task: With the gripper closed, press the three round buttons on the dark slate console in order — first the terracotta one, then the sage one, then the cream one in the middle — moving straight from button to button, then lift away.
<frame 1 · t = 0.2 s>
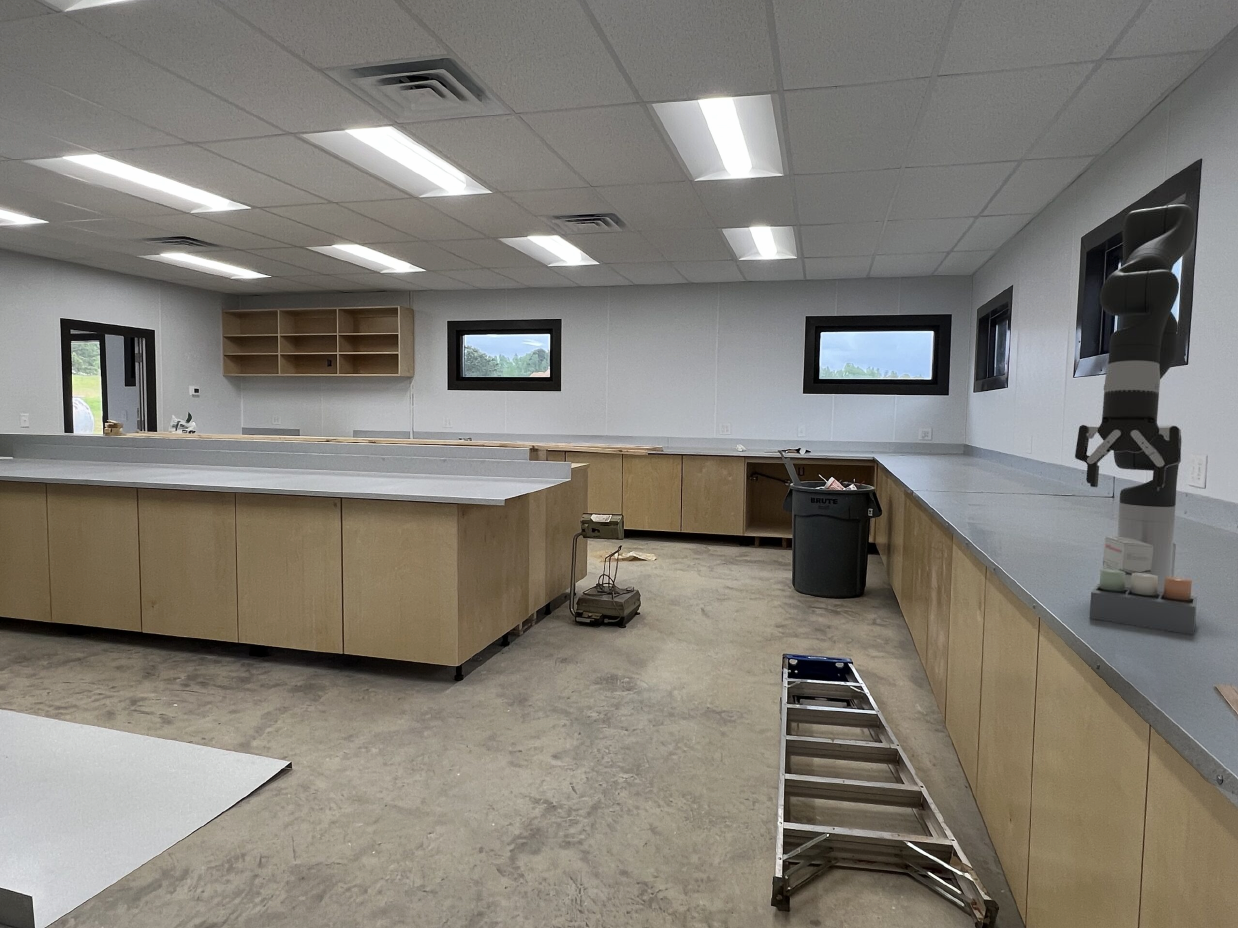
hand: (1123, 488, 121), 23 cm above the countertop, tool pointing down, fingers open, 8 cm apart
console: (1142, 620, 125), on the countertop
ink box: (1123, 603, 137), on the countertop
cream button: (1144, 583, 124), point 6 cm above the countertop, slide at 0.0 cm
sage button: (1112, 579, 127), point 6 cm above the countertop, slide at 0.0 cm
terracotta button: (1177, 588, 121), point 6 cm above the countertop, slide at 0.0 cm
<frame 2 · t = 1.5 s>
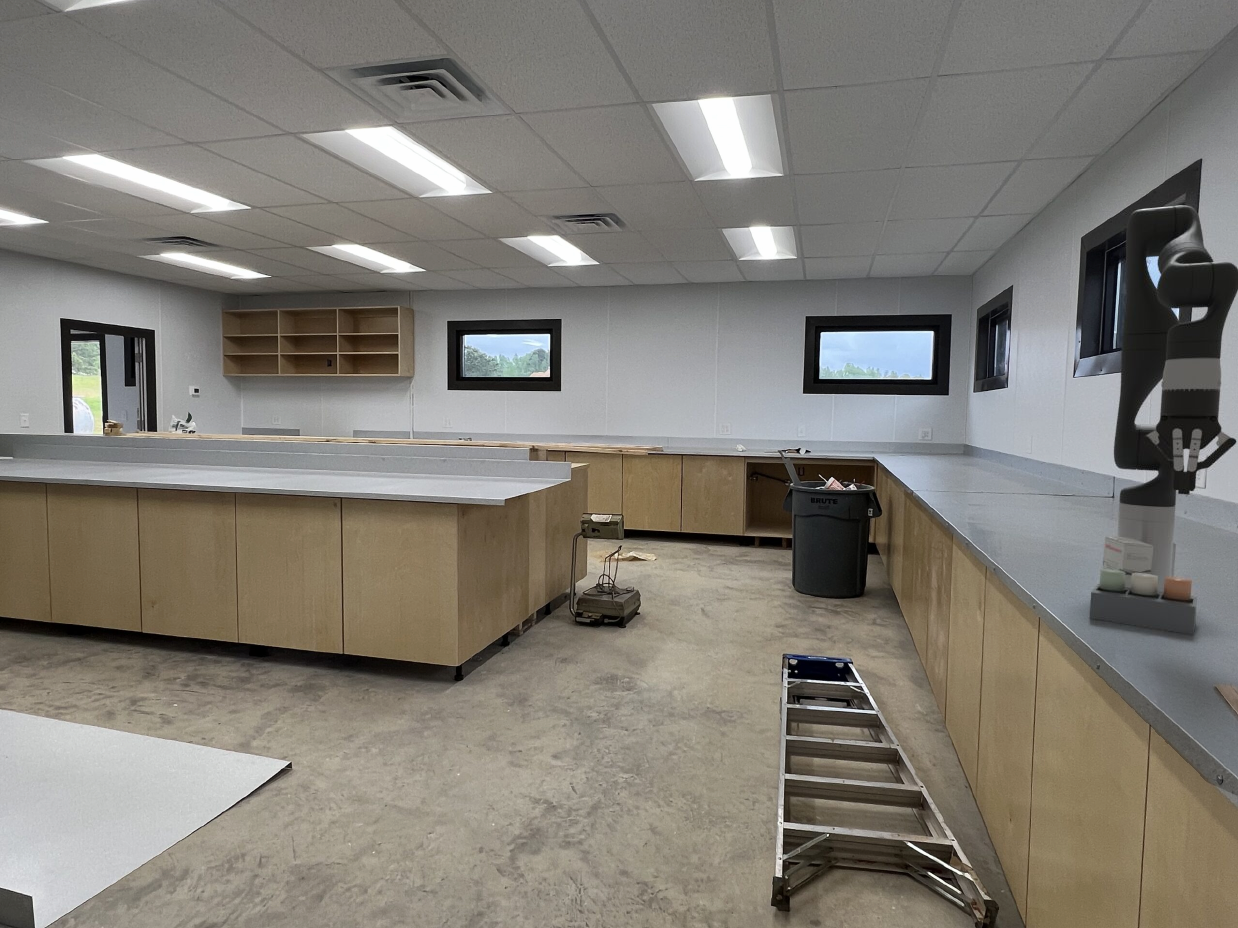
hand: (1183, 493, 120), 22 cm above the countertop, tool pointing down, fingers closed
nothing on the countertop moved.
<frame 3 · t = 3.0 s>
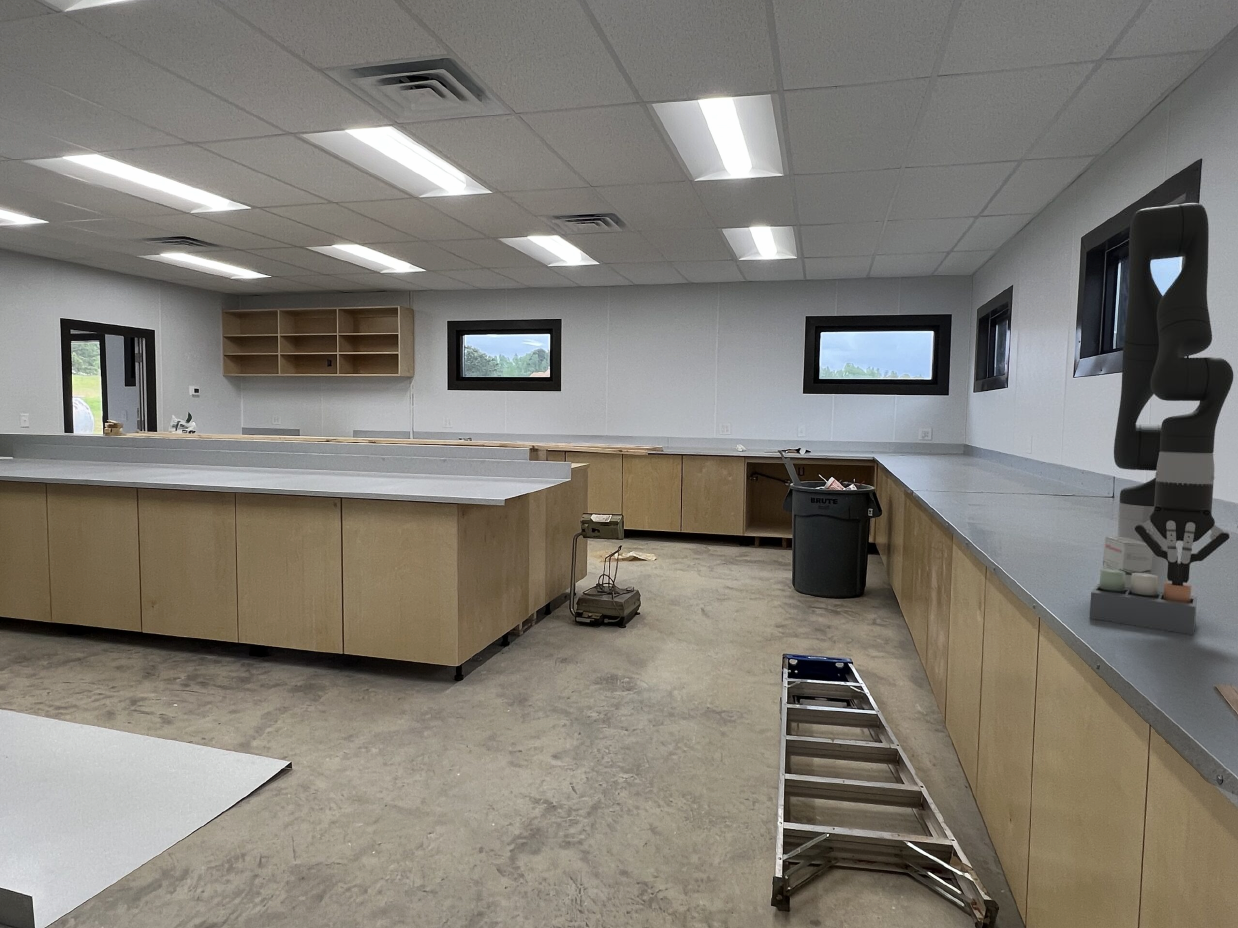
hand: (1177, 584, 121), 7 cm above the countertop, tool pointing down, fingers closed
terracotta button: (1177, 593, 121), point 5 cm above the countertop, slide at 0.9 cm, touching gripper
everything else where it was.
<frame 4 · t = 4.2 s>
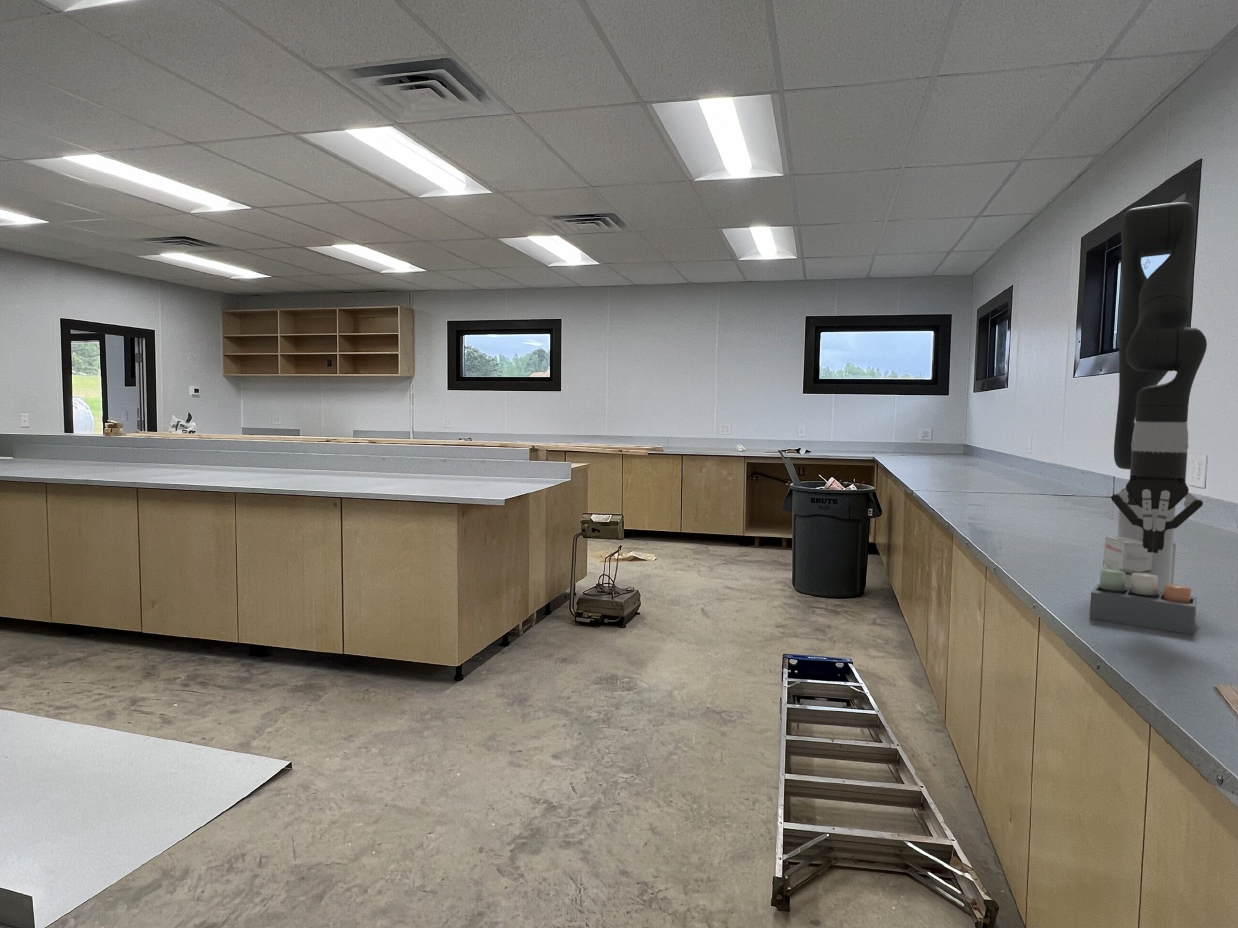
hand: (1152, 551, 123), 12 cm above the countertop, tool pointing down, fingers closed
terracotta button: (1177, 595, 121), point 5 cm above the countertop, slide at 1.3 cm
everything else where it was.
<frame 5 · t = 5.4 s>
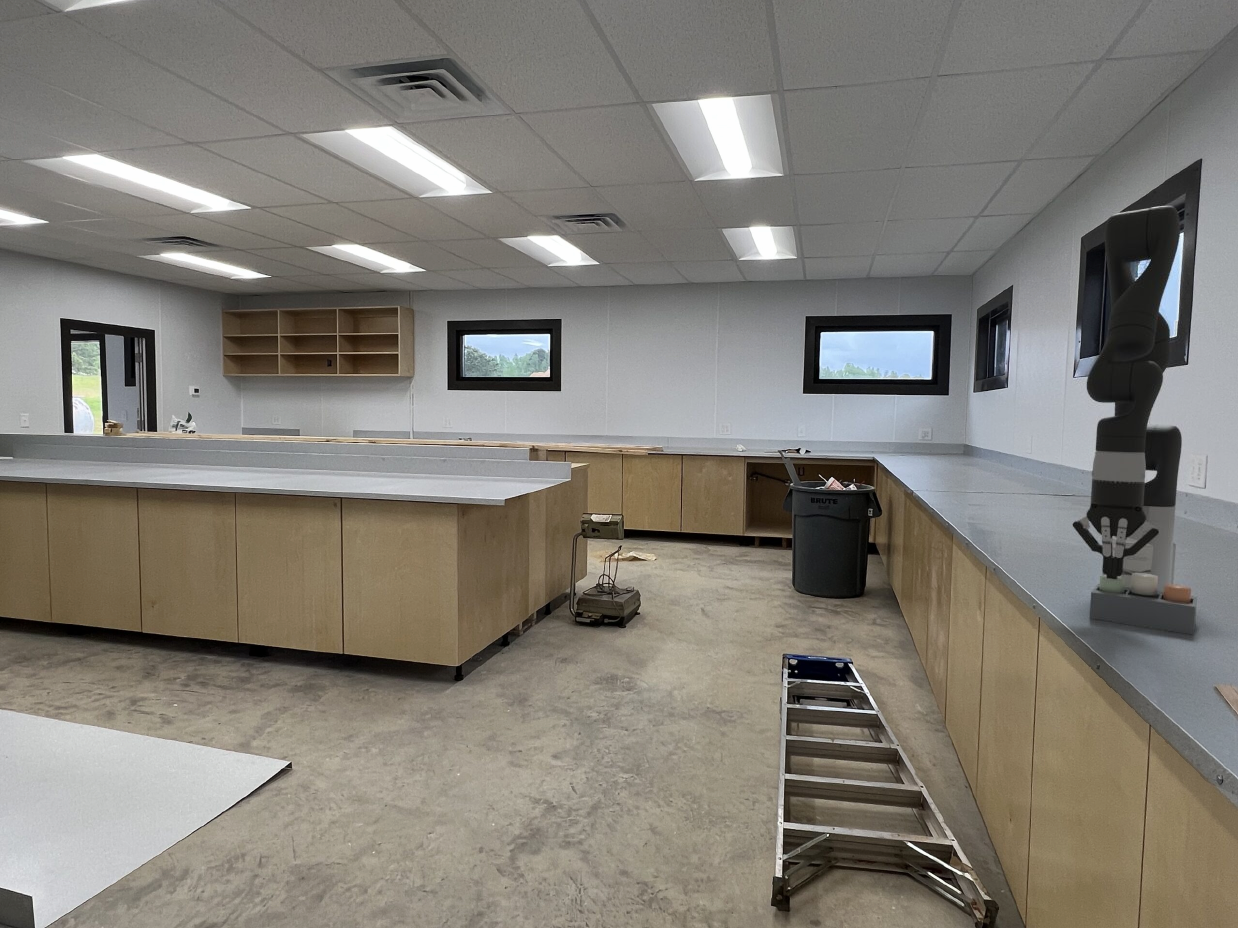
hand: (1111, 577, 127), 7 cm above the countertop, tool pointing down, fingers closed
sage button: (1111, 586, 127), point 5 cm above the countertop, slide at 1.2 cm, touching gripper
everything else where it was.
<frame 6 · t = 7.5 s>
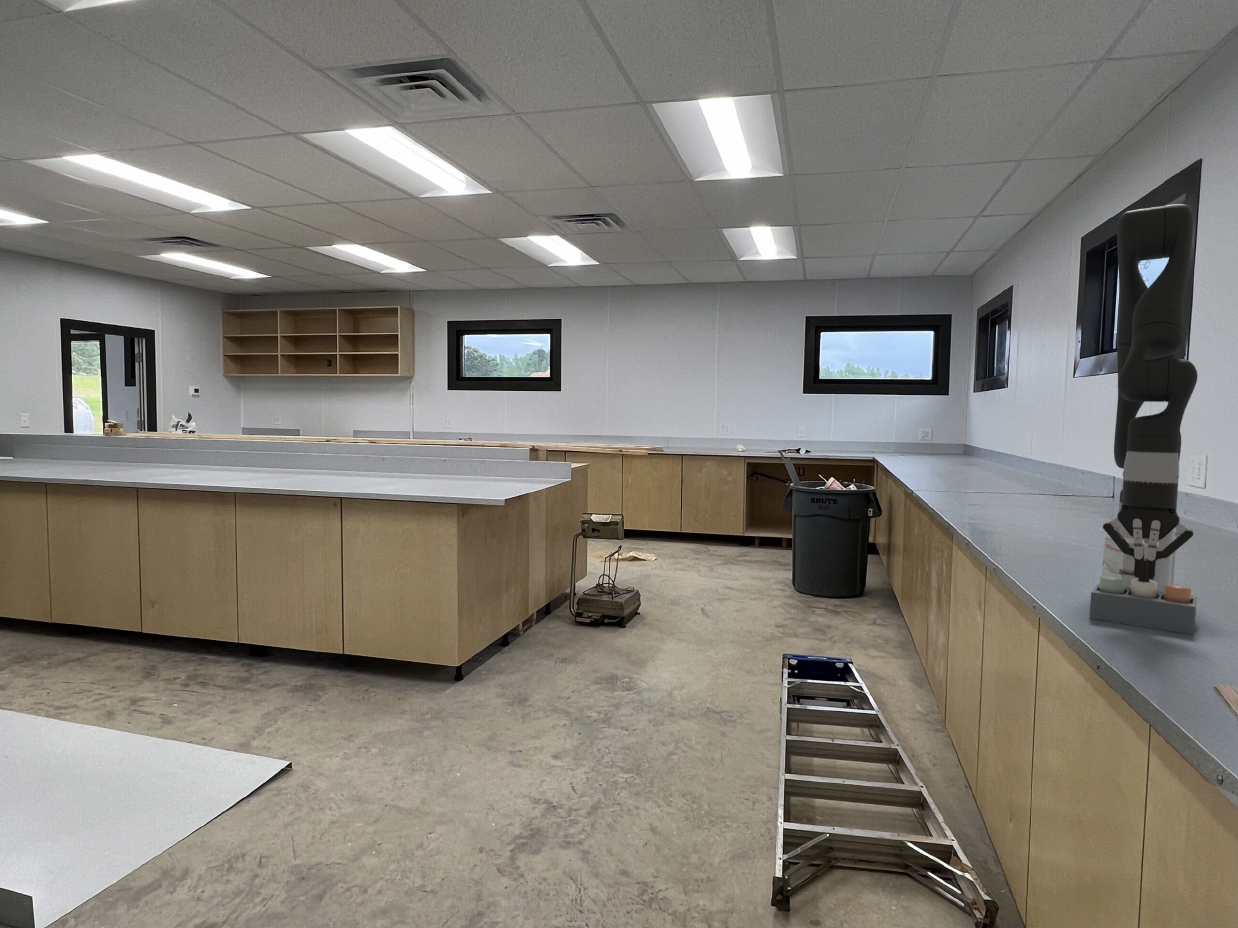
hand: (1143, 581, 124), 7 cm above the countertop, tool pointing down, fingers closed
cream button: (1143, 589, 124), point 5 cm above the countertop, slide at 1.0 cm, touching gripper
sage button: (1111, 587, 127), point 5 cm above the countertop, slide at 1.3 cm
everything else where it was.
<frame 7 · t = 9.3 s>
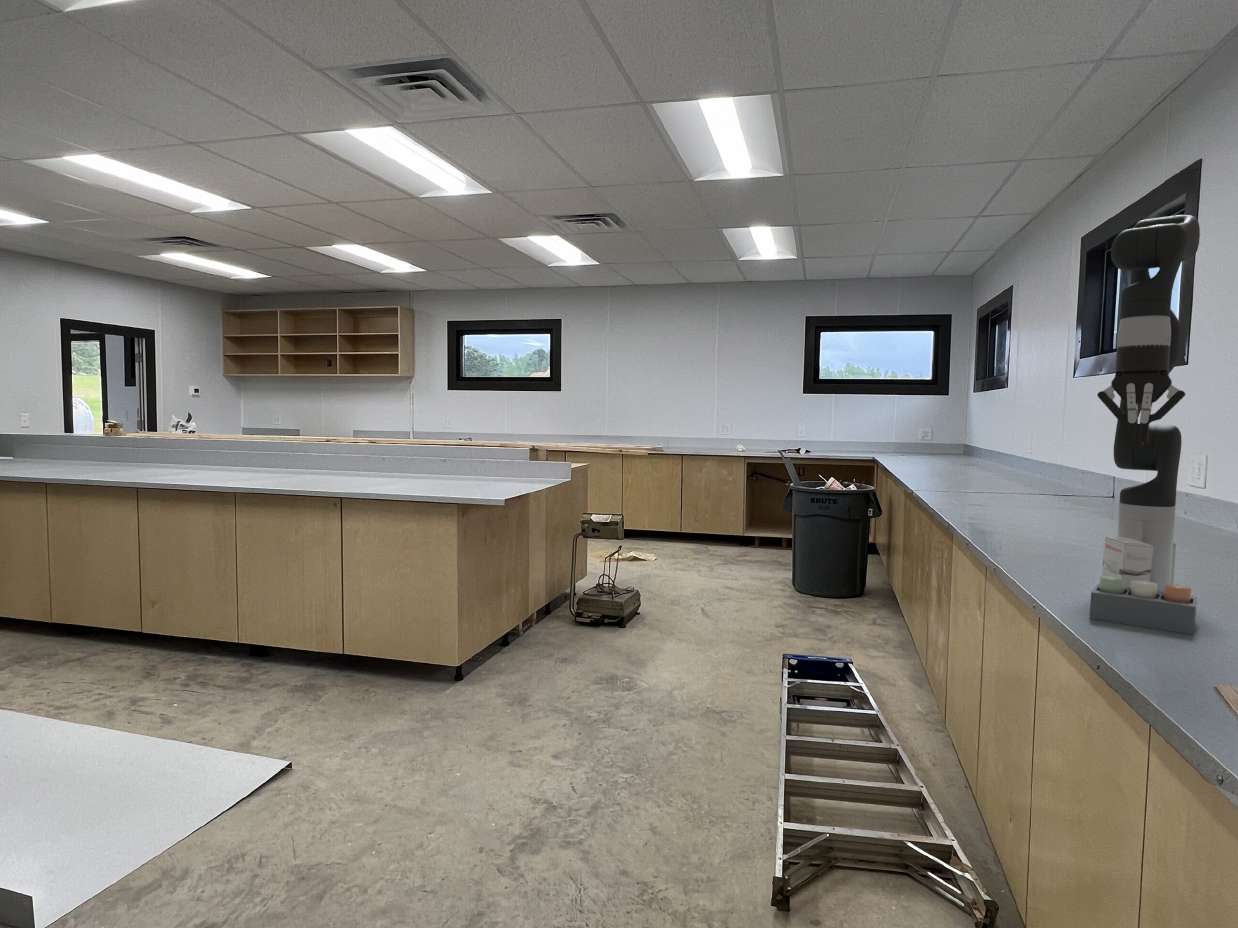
hand: (1137, 445, 128), 30 cm above the countertop, tool pointing down, fingers closed
cream button: (1143, 591, 124), point 5 cm above the countertop, slide at 1.3 cm
everything else where it was.
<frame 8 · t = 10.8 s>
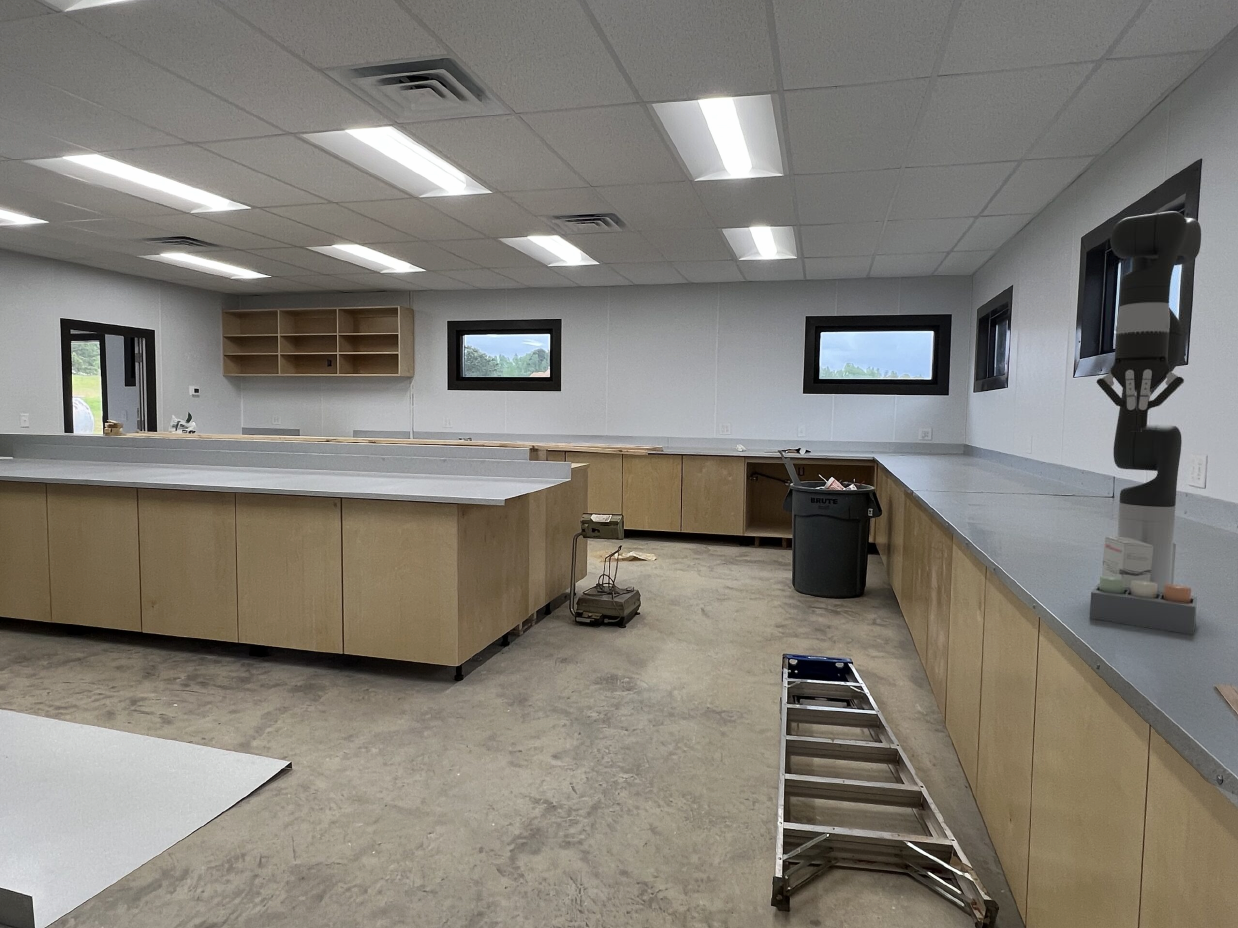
hand: (1136, 431, 129), 32 cm above the countertop, tool pointing down, fingers closed
nothing on the countertop moved.
at the end: terracotta button slide at 1.3 cm; sage button slide at 1.3 cm; cream button slide at 1.3 cm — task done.
